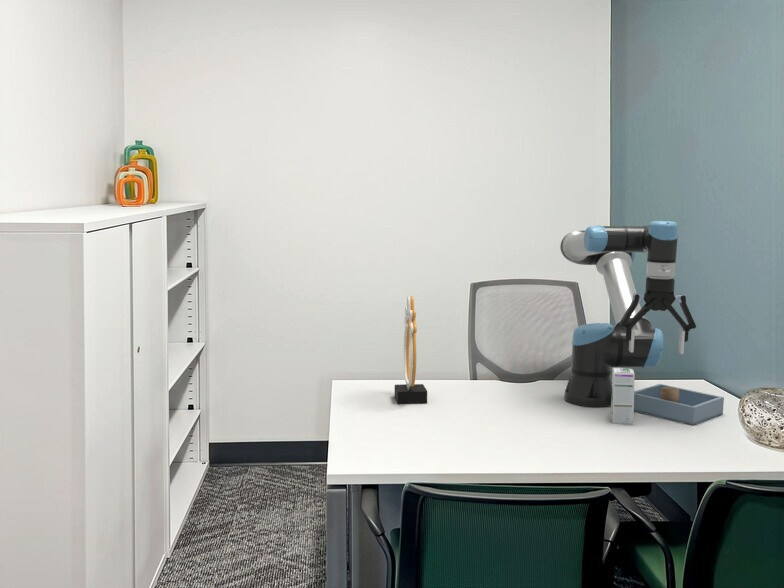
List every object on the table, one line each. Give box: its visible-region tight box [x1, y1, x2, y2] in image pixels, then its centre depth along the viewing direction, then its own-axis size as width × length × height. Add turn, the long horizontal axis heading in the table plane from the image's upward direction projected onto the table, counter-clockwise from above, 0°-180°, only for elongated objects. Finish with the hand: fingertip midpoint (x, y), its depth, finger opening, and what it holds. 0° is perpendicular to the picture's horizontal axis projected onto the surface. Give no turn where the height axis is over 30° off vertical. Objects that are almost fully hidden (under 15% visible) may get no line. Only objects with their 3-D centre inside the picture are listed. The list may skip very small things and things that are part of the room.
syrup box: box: [610, 367, 636, 425], centre depth 214 cm, size 6×6×14 cm
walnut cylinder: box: [660, 386, 679, 403], centre depth 220 cm, size 5×5×7 cm
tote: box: [634, 383, 725, 426], centre depth 223 cm, size 20×17×5 cm
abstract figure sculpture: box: [394, 296, 428, 405], centre depth 232 cm, size 17×9×32 cm, turn 6°
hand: (655, 352), depth 217 cm, fingers open, 13 cm apart
